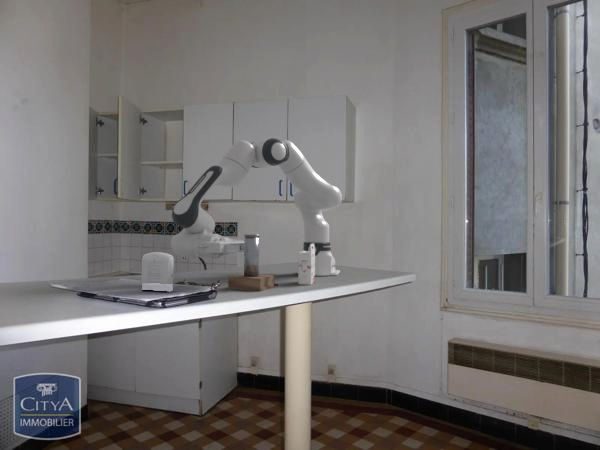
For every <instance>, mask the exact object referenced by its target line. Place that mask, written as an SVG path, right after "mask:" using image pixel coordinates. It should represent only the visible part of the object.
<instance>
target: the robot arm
mask: <svg viewBox="0 0 600 450" xmlns="http://www.w3.org/2000/svg"><path fill="white" fill-rule="evenodd" d="M273 166H274V167H275V166H279V168H280V169H281V171H282V173H283V174H284V176H285V177H286V178H287V179H288V181H289V182H290V184H291V185H292V186H293V187H294V188H296V189H298V190H297V191H296V192H295V193H294V196H293V203H294V206H295V207H296V208H297V209H298V210H299V212H300V214H301V218H302V221H303V222H302V223H303V226H304V228H303V229H304V232H303V233H304V235H303V236H304V240H303V245H302V247H303V248H302V250H303V251H310V244H314V246H315V277H317V276H318V277H319V276H322V277H325V276H338V275H339V274H340V273H341V269H340V270H339V269H336V259H335V257H334V256H333V254H332V252H331V250H332V247H333V246H332V243H331V242H330V224H329V223H328V221H326V220H325V218H324V216H323V213H322V212H328V211H332V210H336V209H337V208H339V207H340V205H342V201H343V195H342V191H341V190H340V188H338V186H334V185H332V184H331V183H329V182H328V181H326V180H325V179H324V178H323V177H321V176H320V175H319V174H318V173H317V172H316V171H315V170H314V169H313V167H312V166H311V165H310V163H309V161H308V160H307V159H306V156H304V154H303V153H302V152H301V150H300V149H299V148H298V147H297V146H296V145H295V144H294V143H293V142H292V141H291V140H287V139H285V140H281V139H279V138H275V137H274V138H273V137H272V138H265V139H260V140H258V141H257V140H256V141H253V142H251V143H250V141H247V140H244V139H241V140H240V139H239V140H237V141H235V142H234V143H233V144H232V145H231V146H230V147H229V148H228V150H227V151H226V153H225V154H224V155H223V157H222V158H221V160H220V161H219V162H218V163H217V164H216V165H211V166H210V167H209V168H208V169H207V170H205V171H204V173H203V174H202V175H200V177H199V178H198V180H196V182H195V183H194V184H193V185H192V187H191V188H189V190H188V191H187V192H186V194H184V195H183V196H182V197H181V198H180V199H179V200H178V201H177V202H176V203H175V204H174V205H173V206H172V210H171V218H172V221H173V223H174V224H176V225H178V226H179V227H181V228H182V230H181V231H180V232H179V233H177V234H175V235H173V236H172V238H171V240H170V245H171V246H170V247H171V250H172V252H173V253H174V254H175V255H176V256H179V257H182V258H187V259H189V258H190V259H197V258H201V259H203V260H204V259H208V260H217V259H220V258H221V257H224V256H226V255H229V254H234V253H244V240H243V239H235V238H230V237H228V236H222V235H220V234H219V233H214V232H215V229H216V220H215V219H214V218H213V217H212V216H211V215H210V214H209V213H208V212H207V211H205V210H204V209H203V207H202V202H203V201H204V199H205V198H206V197H207V196H208V194H210V192H211V191H212V189H213V188H215V187H216V186H222V187H224V188H229V189H230V188H235V187H238V186H240V185H241V184H242V183H243V182H244V180H245V178H246V176H247V175H248V173H249V172H250V170H251V168H255V169H259V168H260V169H261V168H262V169H263V168H264V169H265V168H269V167H273ZM312 249H313V247H312ZM296 274H299V270H296Z"/></svg>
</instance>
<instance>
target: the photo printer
mask: <svg viewBox="0 0 600 450" xmlns="http://www.w3.org/2000/svg"><path fill="white" fill-rule="evenodd" d="M174 271H175V258H174V256H173V255H172V254H169V253H166V252H161V251H159V252H158V251H156V252H155V251H153V252H147V253H145V254H143V256H142V258H141V280H140V281H141V282H140V283H160V284H173V285H174V284H175V283H174V280H175V279H174V275H175V272H174Z"/></svg>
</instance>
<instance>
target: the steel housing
mask: <svg viewBox="0 0 600 450" xmlns="http://www.w3.org/2000/svg"><path fill="white" fill-rule="evenodd" d="M243 237H244V240H243V241H244V252H243V274H244V276H245V277H258V276H259V275H260V237H261V236H260V234H243Z"/></svg>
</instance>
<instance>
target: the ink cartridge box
mask: <svg viewBox="0 0 600 450" xmlns="http://www.w3.org/2000/svg"><path fill="white" fill-rule="evenodd" d="M312 247H313V249H312ZM297 254H298V256H297V257H298V258H297V259H298V262H297V263H298V271H299V273H298V285H306V286H307V285H312V284H314V283H315V281H316V280H315V279H316V276H315V246H314V244H310V251H304V250H303V251H298V253H297Z"/></svg>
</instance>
